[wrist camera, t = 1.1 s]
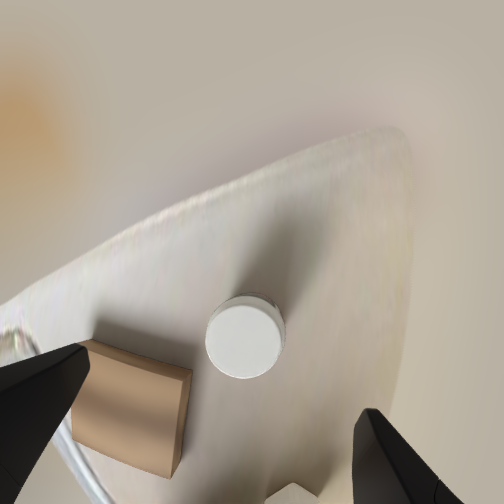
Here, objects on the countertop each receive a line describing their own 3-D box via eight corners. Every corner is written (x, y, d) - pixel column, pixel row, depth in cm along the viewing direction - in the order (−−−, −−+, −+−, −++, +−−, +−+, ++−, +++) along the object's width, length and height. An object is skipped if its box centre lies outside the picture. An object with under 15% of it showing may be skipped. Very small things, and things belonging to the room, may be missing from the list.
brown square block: (179, 462, 22) (170, 479, 19) (87, 428, 23) (72, 439, 20) (192, 370, 23) (182, 381, 20) (91, 338, 24) (72, 343, 21)
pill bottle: (210, 314, 24) (179, 329, 15) (259, 280, 24) (252, 278, 15) (244, 362, 23) (231, 400, 15) (294, 329, 23) (305, 353, 15)
